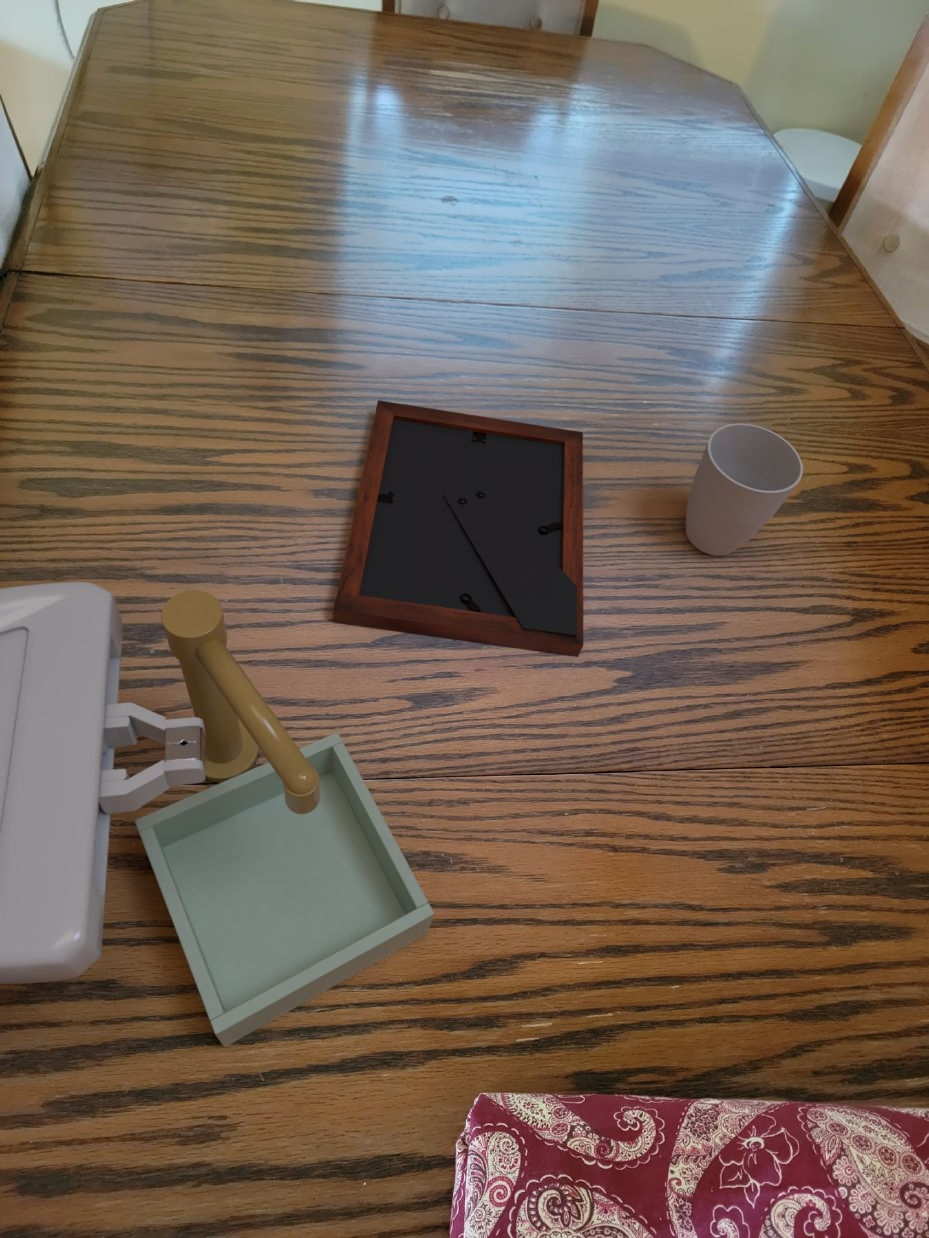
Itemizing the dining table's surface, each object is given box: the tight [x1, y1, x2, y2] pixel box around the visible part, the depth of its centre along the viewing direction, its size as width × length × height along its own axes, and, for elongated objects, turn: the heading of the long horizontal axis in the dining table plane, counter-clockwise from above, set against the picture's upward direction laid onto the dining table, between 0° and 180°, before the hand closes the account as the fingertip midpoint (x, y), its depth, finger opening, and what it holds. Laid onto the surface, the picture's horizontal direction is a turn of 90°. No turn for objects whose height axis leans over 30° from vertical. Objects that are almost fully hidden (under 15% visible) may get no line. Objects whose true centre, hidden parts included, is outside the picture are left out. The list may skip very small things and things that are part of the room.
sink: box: [134, 731, 435, 1048], centre depth 52 cm, size 14×14×5 cm
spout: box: [160, 589, 320, 814], centre depth 45 cm, size 14×3×4 cm, turn 38°
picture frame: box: [332, 399, 584, 657], centre depth 74 cm, size 20×2×25 cm
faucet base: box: [178, 660, 260, 784], centre depth 54 cm, size 5×5×14 cm
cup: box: [685, 422, 804, 557], centre depth 74 cm, size 8×8×10 cm
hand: (204, 749), depth 43 cm, fingers closed
